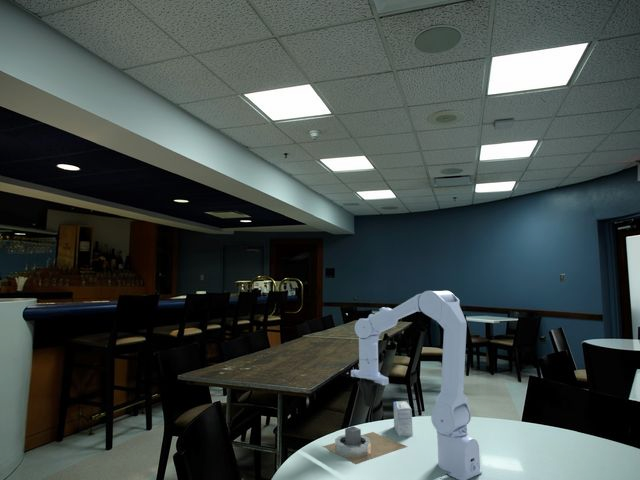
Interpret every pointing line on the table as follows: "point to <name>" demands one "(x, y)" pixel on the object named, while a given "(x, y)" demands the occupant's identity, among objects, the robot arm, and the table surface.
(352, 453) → the board with octagonal ring
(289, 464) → the table surface
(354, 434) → the cap
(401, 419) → the medicine box
